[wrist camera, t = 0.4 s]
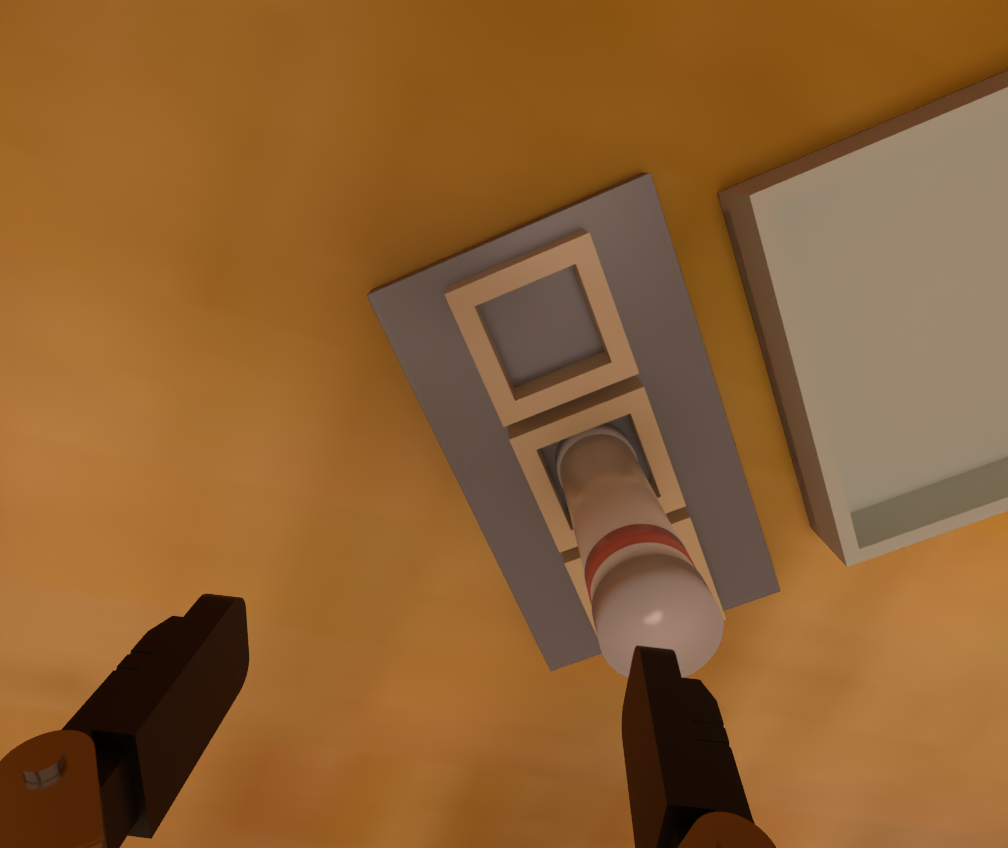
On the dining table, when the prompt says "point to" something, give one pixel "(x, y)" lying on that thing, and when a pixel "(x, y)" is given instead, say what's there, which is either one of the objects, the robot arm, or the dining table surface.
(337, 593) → the dining table surface
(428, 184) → the dining table surface
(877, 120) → the dining table surface
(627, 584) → the fuse
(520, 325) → the block
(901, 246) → the parts tray
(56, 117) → the dining table surface
